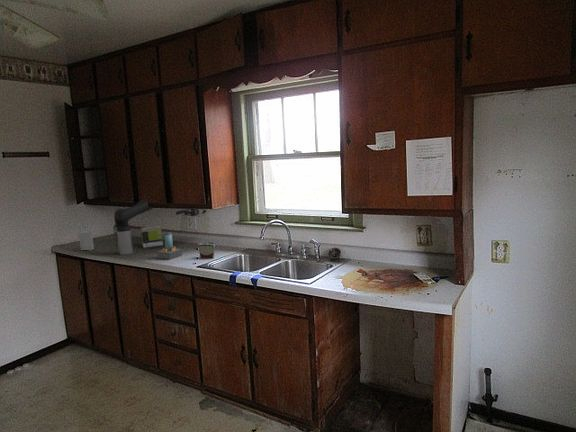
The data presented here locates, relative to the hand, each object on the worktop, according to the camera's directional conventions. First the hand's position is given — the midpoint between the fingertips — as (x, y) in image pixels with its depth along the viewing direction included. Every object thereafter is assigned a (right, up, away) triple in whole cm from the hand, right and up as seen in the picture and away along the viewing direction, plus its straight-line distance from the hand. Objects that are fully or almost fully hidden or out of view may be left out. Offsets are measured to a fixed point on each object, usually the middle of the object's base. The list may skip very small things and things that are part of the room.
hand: (180, 213), depth 287 cm
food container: (+25, -30, -20) cm, 44 cm away
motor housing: (-4, -30, -14) cm, 34 cm away
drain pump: (-4, -25, -14) cm, 29 cm away
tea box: (-30, -26, +29) cm, 49 cm away
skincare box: (-80, -29, +24) cm, 89 cm away
